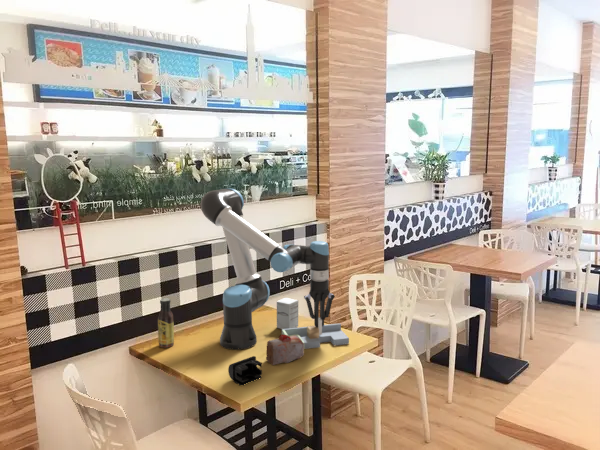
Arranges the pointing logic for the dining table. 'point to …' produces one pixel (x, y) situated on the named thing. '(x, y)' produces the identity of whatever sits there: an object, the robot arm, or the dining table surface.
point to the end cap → (245, 370)
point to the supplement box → (287, 313)
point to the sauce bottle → (165, 325)
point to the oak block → (312, 332)
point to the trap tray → (328, 334)
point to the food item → (284, 349)
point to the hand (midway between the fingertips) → (319, 333)
